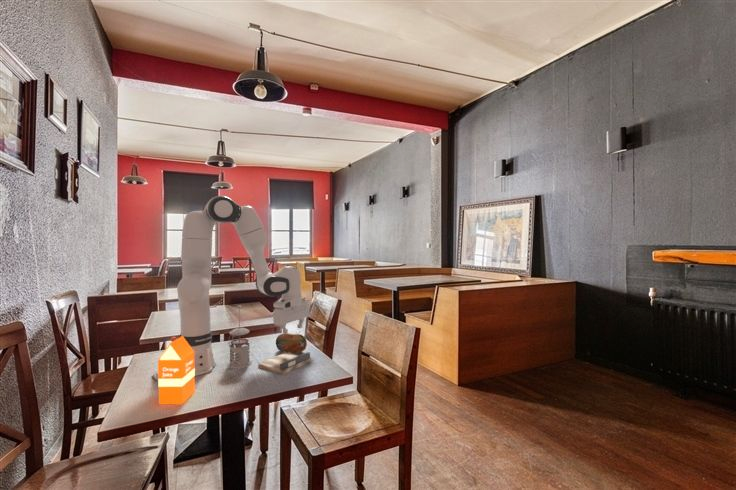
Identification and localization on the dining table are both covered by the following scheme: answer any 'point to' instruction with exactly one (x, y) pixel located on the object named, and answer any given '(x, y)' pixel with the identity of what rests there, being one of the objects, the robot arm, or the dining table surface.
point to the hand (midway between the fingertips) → (292, 330)
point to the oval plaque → (291, 343)
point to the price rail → (294, 361)
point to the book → (275, 363)
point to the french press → (239, 348)
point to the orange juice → (176, 373)
